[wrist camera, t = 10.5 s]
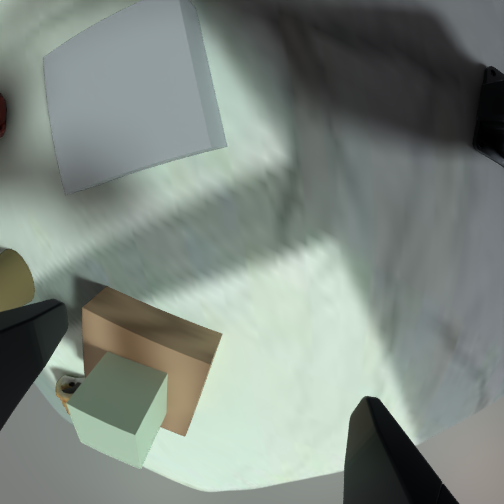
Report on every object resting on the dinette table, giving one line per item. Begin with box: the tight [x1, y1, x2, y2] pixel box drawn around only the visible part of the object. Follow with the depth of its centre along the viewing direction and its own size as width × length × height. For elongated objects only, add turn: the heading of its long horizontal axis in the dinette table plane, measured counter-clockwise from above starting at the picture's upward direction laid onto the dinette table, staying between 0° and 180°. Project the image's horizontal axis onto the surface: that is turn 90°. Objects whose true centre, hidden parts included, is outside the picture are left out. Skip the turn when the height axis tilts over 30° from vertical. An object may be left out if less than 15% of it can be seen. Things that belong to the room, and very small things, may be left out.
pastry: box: [56, 376, 85, 415], centre depth 28 cm, size 9×7×4 cm
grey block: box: [43, 0, 227, 195], centre depth 16 cm, size 10×10×4 cm
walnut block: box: [82, 286, 222, 436], centre depth 23 cm, size 10×10×4 cm
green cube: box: [66, 351, 168, 469], centre depth 18 cm, size 5×5×6 cm
